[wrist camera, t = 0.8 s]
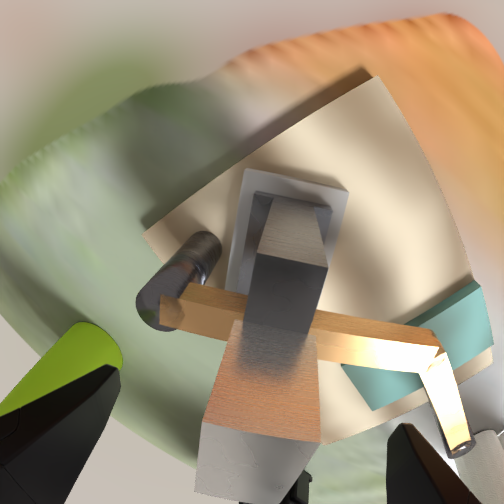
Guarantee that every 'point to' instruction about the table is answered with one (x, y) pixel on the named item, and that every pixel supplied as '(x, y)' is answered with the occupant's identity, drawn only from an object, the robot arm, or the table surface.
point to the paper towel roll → (484, 468)
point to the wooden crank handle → (323, 327)
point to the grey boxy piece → (269, 359)
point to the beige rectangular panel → (355, 245)
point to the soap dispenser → (65, 364)
